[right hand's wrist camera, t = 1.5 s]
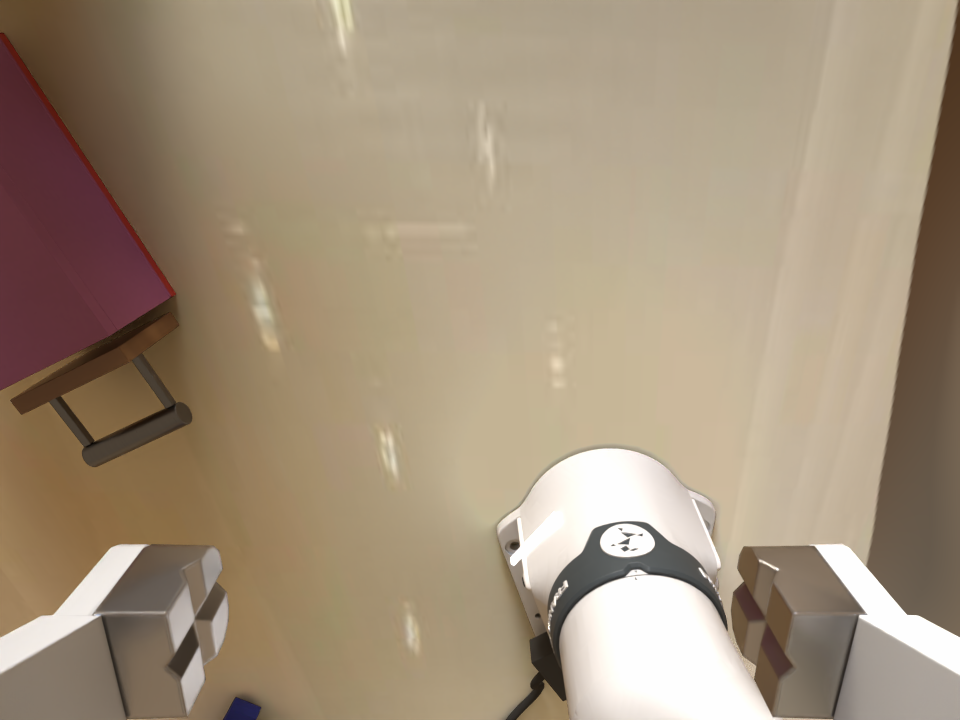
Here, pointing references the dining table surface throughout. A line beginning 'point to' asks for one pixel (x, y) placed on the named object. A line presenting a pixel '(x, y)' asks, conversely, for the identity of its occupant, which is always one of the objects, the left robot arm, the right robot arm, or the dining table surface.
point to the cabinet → (59, 238)
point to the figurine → (242, 710)
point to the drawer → (98, 365)
